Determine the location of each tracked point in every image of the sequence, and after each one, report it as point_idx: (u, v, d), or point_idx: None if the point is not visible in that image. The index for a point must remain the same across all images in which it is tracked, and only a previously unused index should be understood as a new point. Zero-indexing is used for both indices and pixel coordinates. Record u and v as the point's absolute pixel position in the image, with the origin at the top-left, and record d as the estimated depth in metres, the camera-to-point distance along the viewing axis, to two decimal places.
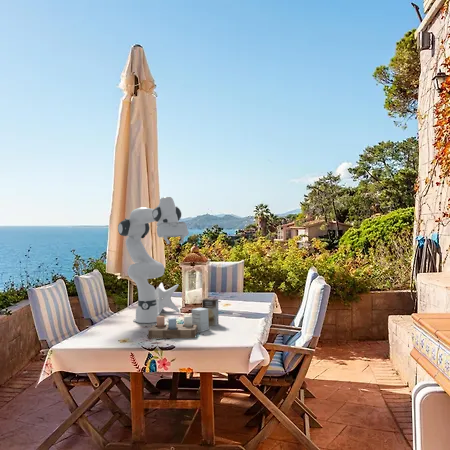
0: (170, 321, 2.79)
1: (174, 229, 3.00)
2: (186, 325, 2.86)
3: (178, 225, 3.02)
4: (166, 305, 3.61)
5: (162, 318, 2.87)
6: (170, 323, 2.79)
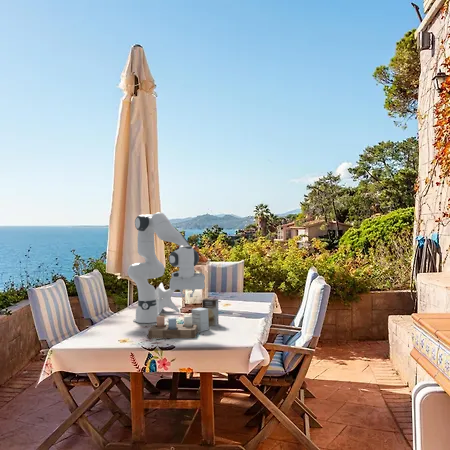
0: (170, 321, 2.79)
1: (187, 283, 2.86)
2: (186, 325, 2.86)
3: (192, 278, 2.86)
4: (166, 305, 3.61)
5: (162, 318, 2.87)
6: (170, 323, 2.79)
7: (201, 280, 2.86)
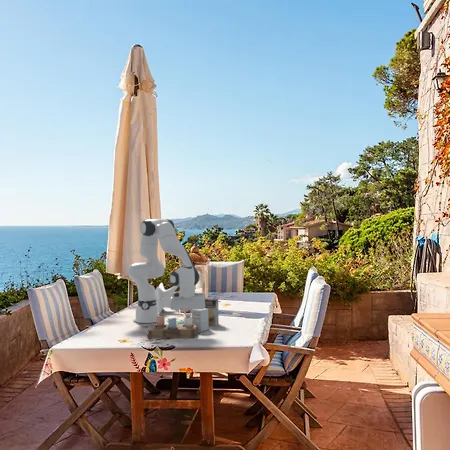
0: (170, 321, 2.79)
1: (187, 303, 2.86)
2: (186, 326, 2.86)
3: (193, 298, 2.86)
4: (166, 305, 3.61)
5: (162, 318, 2.87)
6: (170, 323, 2.79)
7: (202, 300, 2.85)
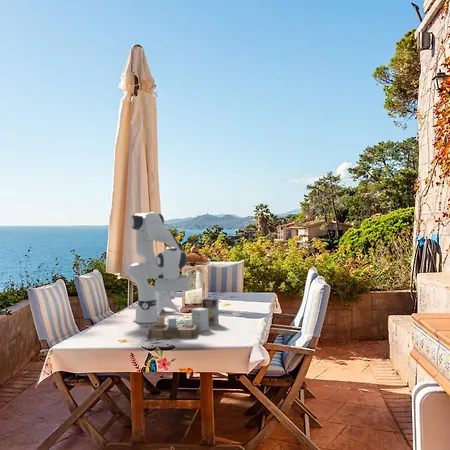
0: (170, 321, 2.79)
1: (171, 284, 2.87)
2: None
3: (177, 280, 2.87)
4: (166, 305, 3.61)
5: (162, 318, 2.87)
6: (170, 323, 2.79)
7: (186, 282, 2.86)
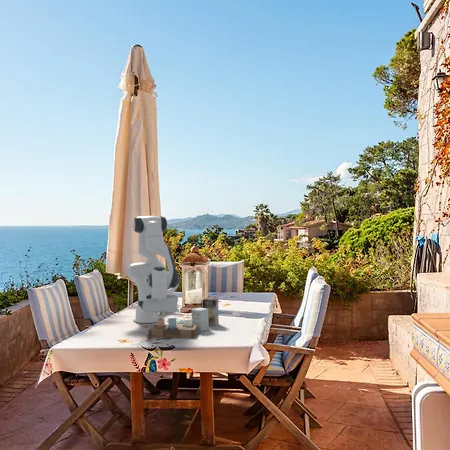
0: (170, 321, 2.79)
1: (160, 305, 2.87)
2: None
3: (165, 300, 2.87)
4: None
5: (162, 320, 2.87)
6: (170, 323, 2.79)
7: (174, 302, 2.86)
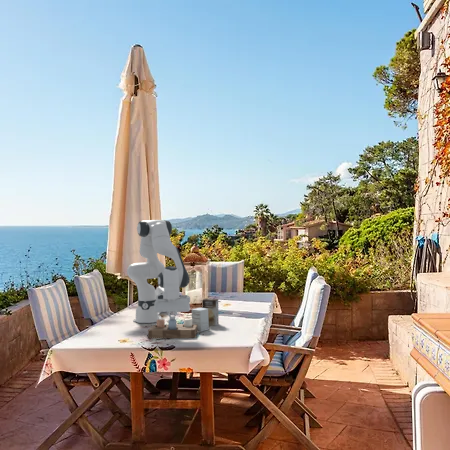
0: (170, 322, 2.79)
1: (172, 305, 2.79)
2: None
3: (177, 301, 2.79)
4: None
5: (162, 321, 2.87)
6: (170, 324, 2.79)
7: (186, 302, 2.79)
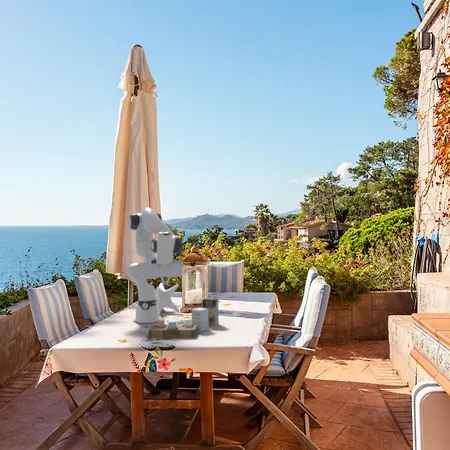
0: (170, 324, 2.79)
1: (165, 270, 2.81)
2: None
3: (171, 265, 2.81)
4: (166, 305, 3.61)
5: (162, 321, 2.87)
6: (170, 326, 2.79)
7: (179, 267, 2.81)
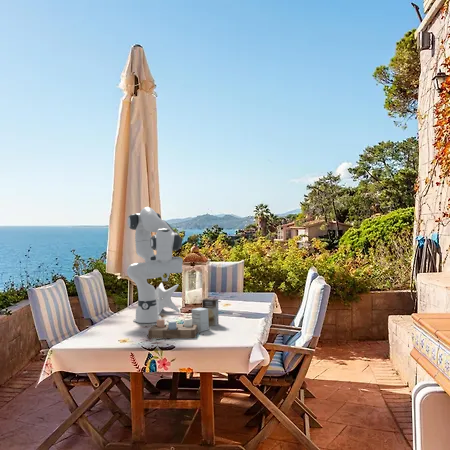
0: (170, 324, 2.79)
1: (164, 266, 2.82)
2: None
3: (170, 262, 2.81)
4: (166, 305, 3.61)
5: (162, 321, 2.87)
6: (170, 326, 2.79)
7: (179, 264, 2.81)
